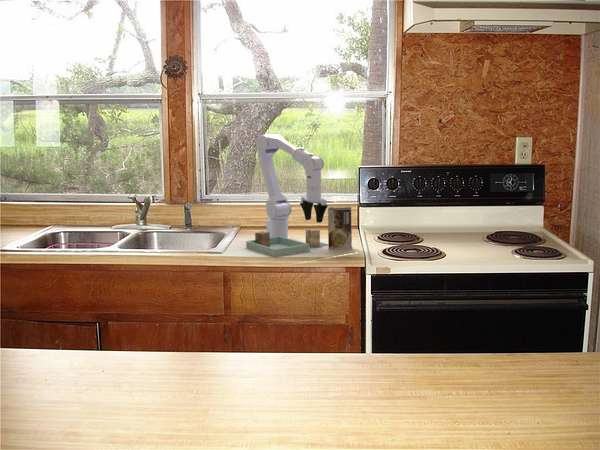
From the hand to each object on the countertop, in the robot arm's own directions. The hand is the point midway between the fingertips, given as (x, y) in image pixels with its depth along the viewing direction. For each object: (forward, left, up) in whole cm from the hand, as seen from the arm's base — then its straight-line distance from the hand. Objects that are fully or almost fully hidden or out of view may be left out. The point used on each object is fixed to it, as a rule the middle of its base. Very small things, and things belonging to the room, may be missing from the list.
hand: (313, 221), depth 257 cm
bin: (0, -17, -10) cm, 20 cm away
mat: (+2, -1, -10) cm, 10 cm away
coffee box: (+12, +4, -10) cm, 16 cm away
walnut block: (-6, -20, -9) cm, 23 cm away
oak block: (+2, -2, -9) cm, 9 cm away
